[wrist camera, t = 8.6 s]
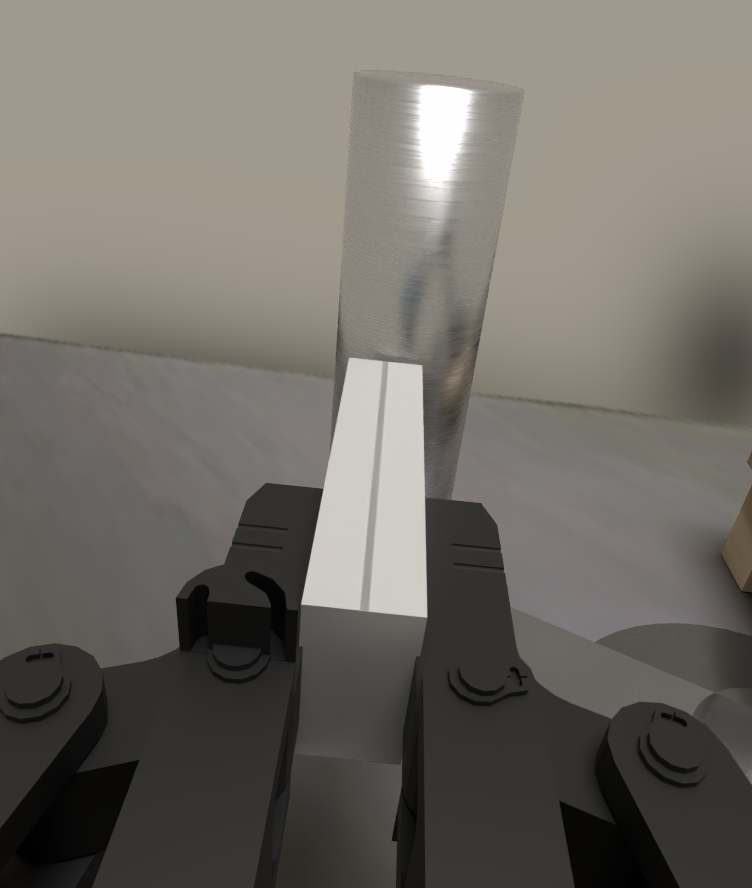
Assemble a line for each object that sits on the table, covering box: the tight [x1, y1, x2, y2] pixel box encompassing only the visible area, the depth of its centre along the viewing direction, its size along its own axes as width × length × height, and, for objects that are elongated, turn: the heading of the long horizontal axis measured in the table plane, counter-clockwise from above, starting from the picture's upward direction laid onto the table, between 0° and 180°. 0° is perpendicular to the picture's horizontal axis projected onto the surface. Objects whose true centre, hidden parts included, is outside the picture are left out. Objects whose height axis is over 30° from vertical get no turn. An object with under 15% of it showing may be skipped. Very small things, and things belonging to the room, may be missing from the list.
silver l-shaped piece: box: [329, 70, 752, 785], centre depth 14 cm, size 16×10×15 cm, turn 62°
